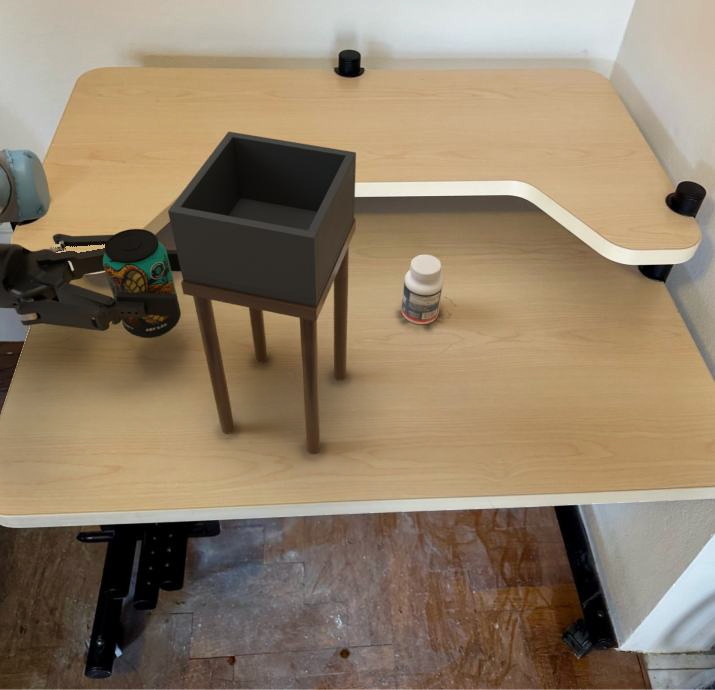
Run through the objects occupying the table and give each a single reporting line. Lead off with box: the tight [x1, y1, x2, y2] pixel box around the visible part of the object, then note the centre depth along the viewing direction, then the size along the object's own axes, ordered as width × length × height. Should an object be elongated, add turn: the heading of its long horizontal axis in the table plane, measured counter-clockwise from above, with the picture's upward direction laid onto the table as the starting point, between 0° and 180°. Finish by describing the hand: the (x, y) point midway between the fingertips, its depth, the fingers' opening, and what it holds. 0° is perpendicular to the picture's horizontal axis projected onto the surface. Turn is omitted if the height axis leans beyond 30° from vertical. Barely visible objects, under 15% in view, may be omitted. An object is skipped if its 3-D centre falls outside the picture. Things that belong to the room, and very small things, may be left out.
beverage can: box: [103, 228, 182, 339], centre depth 78 cm, size 7×7×12 cm
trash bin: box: [167, 131, 357, 307], centre depth 62 cm, size 13×13×8 cm
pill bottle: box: [401, 254, 444, 325], centre depth 91 cm, size 5×5×9 cm
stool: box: [180, 217, 357, 455], centre depth 74 cm, size 14×13×24 cm
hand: (184, 282), depth 78 cm, fingers closed on beverage can, 7 cm apart
